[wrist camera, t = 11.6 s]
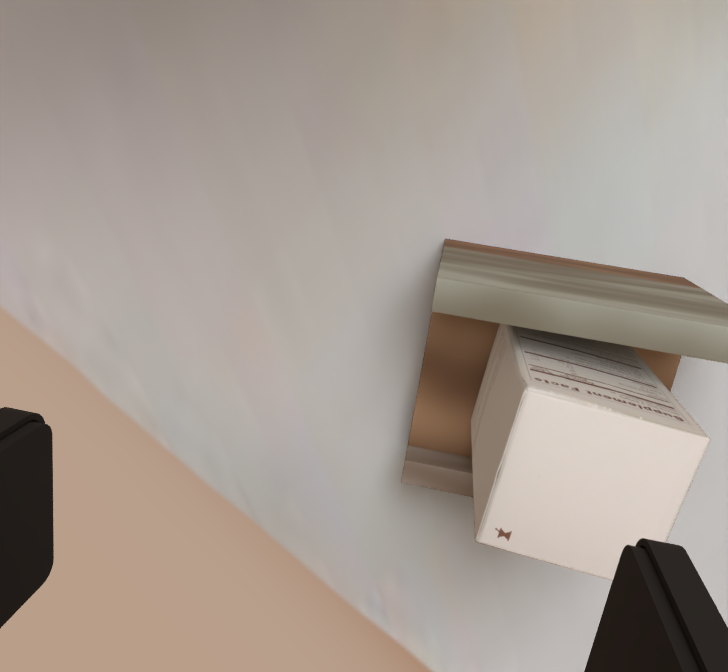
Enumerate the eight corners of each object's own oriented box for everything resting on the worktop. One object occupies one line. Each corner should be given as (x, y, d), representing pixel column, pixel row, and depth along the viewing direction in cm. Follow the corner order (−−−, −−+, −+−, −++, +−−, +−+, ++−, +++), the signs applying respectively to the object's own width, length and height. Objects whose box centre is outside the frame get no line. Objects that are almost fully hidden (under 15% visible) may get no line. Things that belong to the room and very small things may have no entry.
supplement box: (588, 455, 38) (645, 598, 26) (467, 421, 38) (468, 545, 26) (633, 340, 36) (719, 440, 24) (503, 306, 36) (522, 385, 24)
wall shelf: (445, 238, 38) (437, 277, 27) (683, 277, 37) (781, 336, 26) (408, 445, 43) (387, 553, 31) (620, 487, 41) (680, 616, 30)
